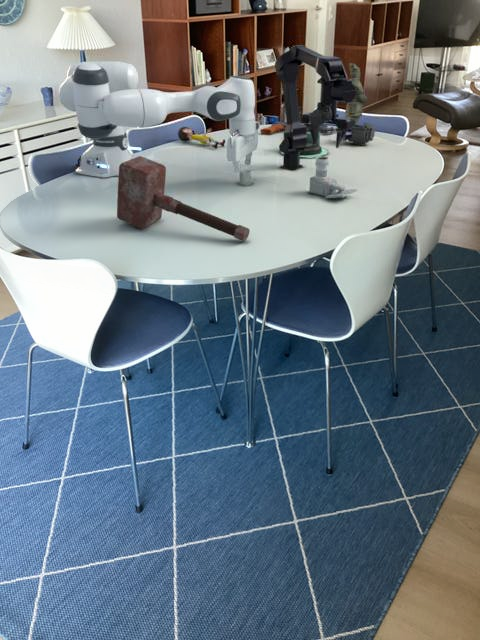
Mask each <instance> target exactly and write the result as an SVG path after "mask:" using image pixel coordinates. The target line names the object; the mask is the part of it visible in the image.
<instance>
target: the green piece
mask: <svg viewBox="0 0 480 640" xmlns="http://www.w3.org/2000/svg"><path fill="white" fill-rule="evenodd" d="M306 129H307V137H308V138H307V143H306V146H305V150H304V151H300V158H307V159H309V158H310V159H311V158H313V159H314V158H316V157H319V156H326V155H327V154H328V150H326V149H325V148H322V146H321V144H320V142H321V132H318V140H317V144H314V143H313V139H312V136H311V133H310V130H309V128H306ZM280 154H282V155H284V153H283V152H280Z"/></svg>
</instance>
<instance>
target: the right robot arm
mask: <svg viewBox="0 0 480 640" xmlns="http://www.w3.org/2000/svg"><path fill="white" fill-rule="evenodd" d="M303 64H305V65H308V66H310V67H311V68H314V69H315V72H316V74H318V75H319V76H320V78H319V79H318V80H317V81H316V82H317V84H320V96H319V101H318V102H317V105H316V106H317V107H316V108H315V109H313V110H312V111H311V112H307V113H303V114H302V115H301V117H300V109H299V100H298V91H297V79H298V77H299V74H300V68H301V66H302V65H303ZM274 69H275V74H276V77H277V79H278V81H280V83H281V86H282V94H283V101H284V103H283V104H284V110H285V119H286V121H285V122H287V126H286V129H285V131H284V130H283V139H282V141H281V142H280V144H278V149H279V153H281V152H283V153H284V154H283V159H282V160H283V161H282V162H283V163H282V165H280V166H279V167H280V168H281V169H287V170H291V171H295V170H297V169H300V168H304V165H303V164H301V157H300V151H304V150H305V146H306V143H307V138H308V137H307V129H306V127H303V126H302V125H301V123H305V124H304V125H305V126H307V127H308V128H309V130H310V133H311V136H312V139H313V143H314V144H317V140H318V132H319V126H320V125H324V124H330V125H335V126H336V128H334V131H335V132H336V138H335V148H336V149H339V147H340V146H341V144H342V142H343V138H344V136H345V134H346V133H347V131H348V129H351V127H354V126H355V120H354V118H350V117H346V116H343V117H340V118H339V113H337V111H338V106H339V105H340V102H342V103H346V104H347V103H350V102H351V101H353V99H354V98H355V95H356V89H355V86H354V85H353V84H352V80H350V79H349V77H348V73H347V72H346V71H347V70H346V69H345V66H344V64H343V59H342V58H341V57H339V56H330V55H323V54H321V53H319V52H318V51H315V50H313V49H311V48H309V47H307V46H306V45H302V44H300V45H299V44H298V45H293V46H291V47H290V49H288V50H287V51H286V52H283V53H282V54H281V55H280V56H278V57H277V58H276V60H275V62H274Z"/></svg>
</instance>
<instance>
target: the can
mask: <svg viewBox="0 0 480 640" xmlns="http://www.w3.org/2000/svg"><path fill="white" fill-rule="evenodd" d="M238 176H239V185H240V186H251V185H252V170H251V169H241V171H240V172H239V175H238Z"/></svg>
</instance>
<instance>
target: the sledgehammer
mask: <svg viewBox="0 0 480 640" xmlns="http://www.w3.org/2000/svg"><path fill="white" fill-rule="evenodd" d="M166 175H167V168H166V166H165V165H164V164H163V163H159V162H157V161H155V160H153V159H149V158H146V157H143V156H141V155H138V156H136V157H133V158H130V160H128V161H126V162H123V163H121V164H120V166H119V175H118V179H117V200H116V218H117V219H118V220H119V221H122V222H124V223H125V224H128V225H131V226H133V227H136V228H137V229H140V230H144V229H147V228H148V227H150V226H151V225H153V224H155V223H157V222H158V221H160V220H161V219H162V215H163V211H166V212H167V213H172V214H174V215H180V216H182V217H185V218H187V219H190V220H192V221H195V222H196V223H199V224H202V225H204V226H207V227H210V228H212V229H214V230H216V231H219V232H221V233H225V234H227V235H230V236H231V237H233V238H234V239H236V240H238V241H241V242H246V241H247V239H248V238H249V236H250V228H248V227H246V226H244V225H241V224H236V223H233V222H230V221H228V220H226V219H222V218H221V217H218V216H215V215H213V214H210V213H208V212H205V211H203V210H201V209H198V208H195V207H193V206H191V205H189V204H186V203H183V202H182V201H181V200H178V199H176V198H174V197H172V196H169V195H166V194H165V188H166Z"/></svg>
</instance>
